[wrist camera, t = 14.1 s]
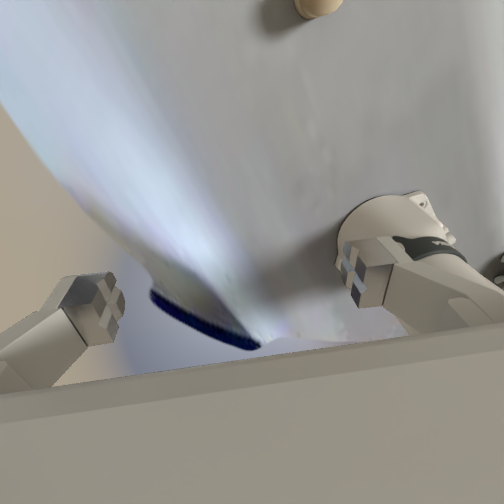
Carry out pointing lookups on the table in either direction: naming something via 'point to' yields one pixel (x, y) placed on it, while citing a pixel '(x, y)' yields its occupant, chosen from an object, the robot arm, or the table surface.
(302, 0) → the tan egg
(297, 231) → the table surface
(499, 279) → the robotic toy
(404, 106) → the table surface
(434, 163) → the table surface
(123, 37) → the table surface
